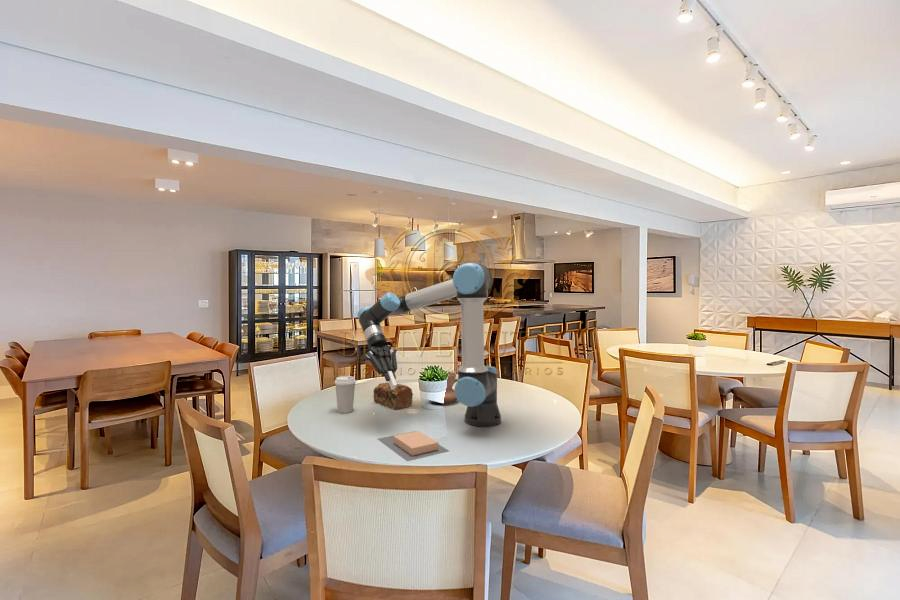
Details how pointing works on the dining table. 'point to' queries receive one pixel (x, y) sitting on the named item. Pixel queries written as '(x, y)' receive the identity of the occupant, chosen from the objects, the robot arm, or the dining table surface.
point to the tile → (415, 443)
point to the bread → (393, 396)
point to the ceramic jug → (450, 388)
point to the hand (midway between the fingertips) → (394, 387)
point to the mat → (405, 455)
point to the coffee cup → (345, 393)
